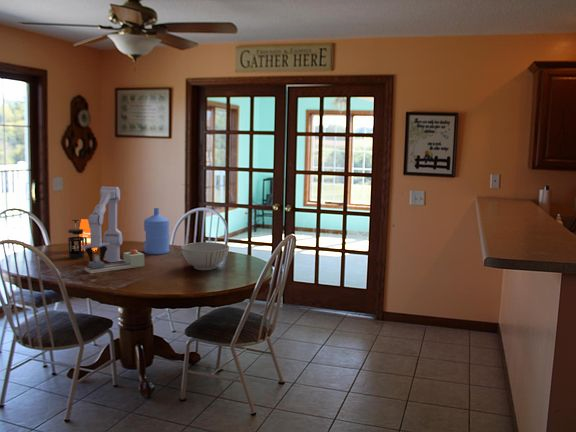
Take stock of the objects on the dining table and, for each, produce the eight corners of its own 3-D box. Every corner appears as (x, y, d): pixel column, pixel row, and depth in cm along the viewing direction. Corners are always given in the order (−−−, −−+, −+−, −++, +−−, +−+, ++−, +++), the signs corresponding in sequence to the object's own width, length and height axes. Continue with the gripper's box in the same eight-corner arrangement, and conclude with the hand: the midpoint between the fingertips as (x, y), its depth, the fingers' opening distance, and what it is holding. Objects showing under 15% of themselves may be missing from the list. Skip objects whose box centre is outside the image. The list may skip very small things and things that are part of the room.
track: (84, 270, 307) (84, 257, 306) (136, 262, 327) (136, 251, 326) (91, 273, 300) (90, 260, 299) (144, 266, 319) (144, 254, 318)
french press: (72, 260, 330) (70, 221, 327) (64, 257, 336) (62, 219, 333) (90, 257, 339) (89, 219, 335) (82, 254, 345) (81, 217, 341)
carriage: (88, 265, 307) (88, 254, 306) (99, 264, 311) (99, 253, 310) (93, 268, 302) (93, 257, 301) (104, 266, 305) (104, 255, 305)
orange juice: (93, 252, 354) (92, 220, 351) (79, 251, 354) (78, 220, 351) (97, 249, 361) (97, 218, 359) (84, 249, 362) (83, 218, 359)
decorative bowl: (221, 274, 304) (221, 252, 302) (173, 271, 309) (173, 249, 307) (234, 263, 330) (234, 243, 328) (190, 261, 335) (190, 241, 333)
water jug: (174, 251, 360) (174, 208, 356) (156, 255, 347) (156, 210, 343) (157, 248, 368) (156, 206, 364) (138, 252, 355) (138, 208, 351)
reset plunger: (129, 256, 320) (129, 249, 319) (135, 255, 322) (135, 249, 322) (132, 257, 317) (132, 250, 317) (138, 257, 319) (138, 250, 319)
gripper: (85, 238, 296) (86, 263, 298) (111, 236, 305) (112, 260, 307) (80, 236, 302) (81, 261, 303) (106, 234, 311) (107, 258, 313)
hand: (96, 260), depth 306 cm, fingers open, 5 cm apart
